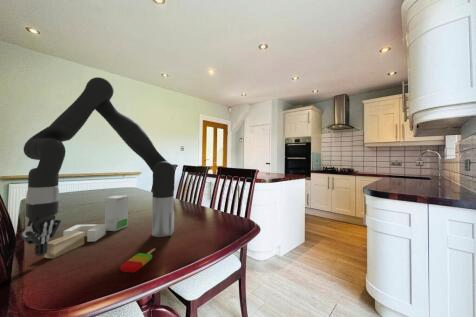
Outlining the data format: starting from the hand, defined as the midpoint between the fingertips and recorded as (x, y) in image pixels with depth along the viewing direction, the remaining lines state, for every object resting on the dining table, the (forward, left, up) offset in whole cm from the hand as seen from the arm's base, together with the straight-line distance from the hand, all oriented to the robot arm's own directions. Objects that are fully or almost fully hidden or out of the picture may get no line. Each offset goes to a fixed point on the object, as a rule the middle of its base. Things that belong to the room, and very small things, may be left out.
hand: (40, 254), depth 64 cm
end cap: (-1, -22, -3) cm, 22 cm away
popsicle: (-31, -1, -4) cm, 31 cm away
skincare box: (-8, -34, -3) cm, 35 cm away
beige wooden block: (-1, -10, -3) cm, 11 cm away
